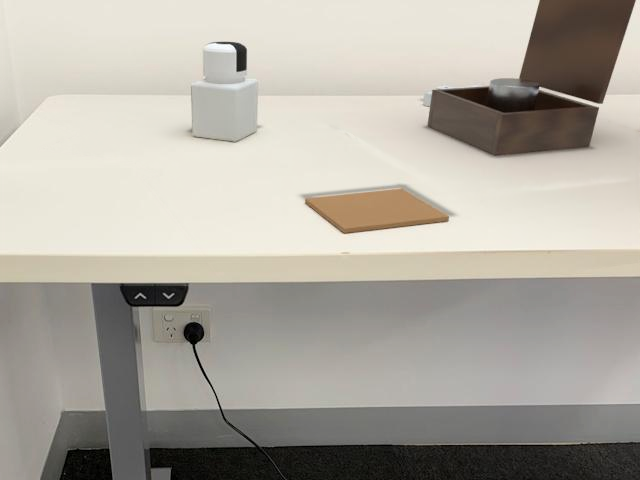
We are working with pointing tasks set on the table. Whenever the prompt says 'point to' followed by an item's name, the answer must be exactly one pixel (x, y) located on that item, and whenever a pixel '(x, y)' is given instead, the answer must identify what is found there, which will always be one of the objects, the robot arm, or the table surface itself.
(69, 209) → the table surface
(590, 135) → the box
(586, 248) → the table surface
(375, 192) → the mat
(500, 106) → the silver metal canister
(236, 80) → the white block with cylinder
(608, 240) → the table surface
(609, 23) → the lid
